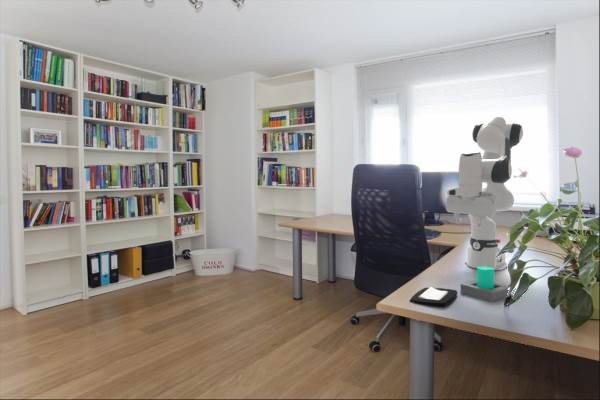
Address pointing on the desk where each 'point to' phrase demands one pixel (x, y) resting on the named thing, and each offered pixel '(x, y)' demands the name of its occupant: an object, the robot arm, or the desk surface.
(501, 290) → the socket block
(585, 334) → the desk surface
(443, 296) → the light switch
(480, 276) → the candle
